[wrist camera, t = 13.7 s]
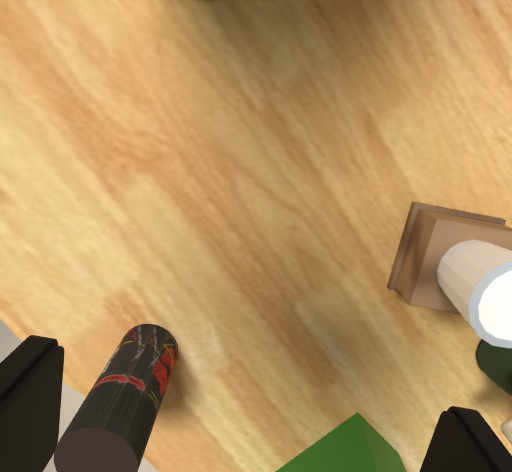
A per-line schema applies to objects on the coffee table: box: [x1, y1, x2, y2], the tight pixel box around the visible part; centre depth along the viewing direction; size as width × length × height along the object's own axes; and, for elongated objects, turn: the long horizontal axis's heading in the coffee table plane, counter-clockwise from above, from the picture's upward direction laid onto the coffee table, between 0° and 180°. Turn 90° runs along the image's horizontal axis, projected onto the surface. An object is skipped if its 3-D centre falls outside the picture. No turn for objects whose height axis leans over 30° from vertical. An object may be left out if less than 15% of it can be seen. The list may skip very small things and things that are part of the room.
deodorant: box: [54, 324, 178, 472], centre depth 36 cm, size 6×6×15 cm
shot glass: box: [437, 240, 512, 348], centre depth 32 cm, size 7×7×7 cm
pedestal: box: [387, 202, 512, 314], centre depth 38 cm, size 9×9×5 cm
